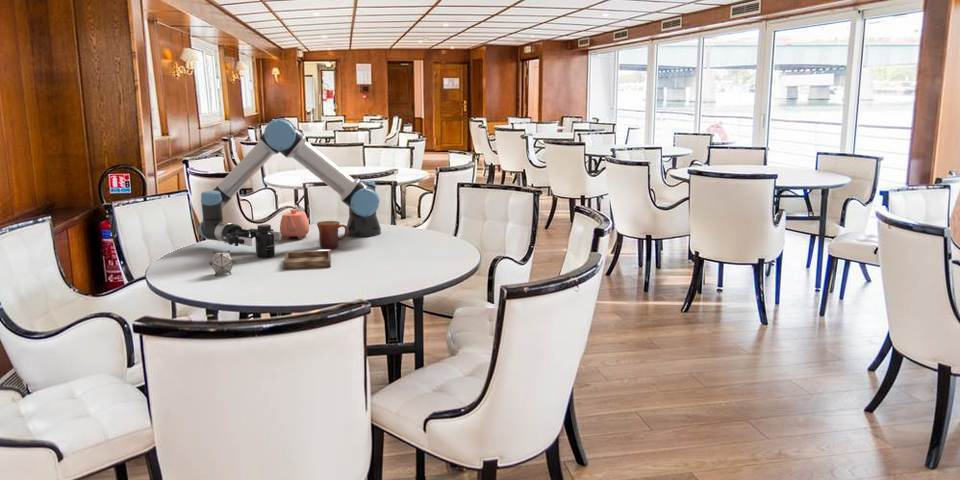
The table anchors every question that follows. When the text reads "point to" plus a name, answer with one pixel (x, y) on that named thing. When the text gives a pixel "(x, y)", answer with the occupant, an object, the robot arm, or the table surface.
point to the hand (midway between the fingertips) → (265, 239)
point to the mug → (330, 234)
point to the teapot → (294, 224)
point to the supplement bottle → (264, 242)
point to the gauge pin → (315, 250)
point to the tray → (307, 259)
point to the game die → (222, 262)
